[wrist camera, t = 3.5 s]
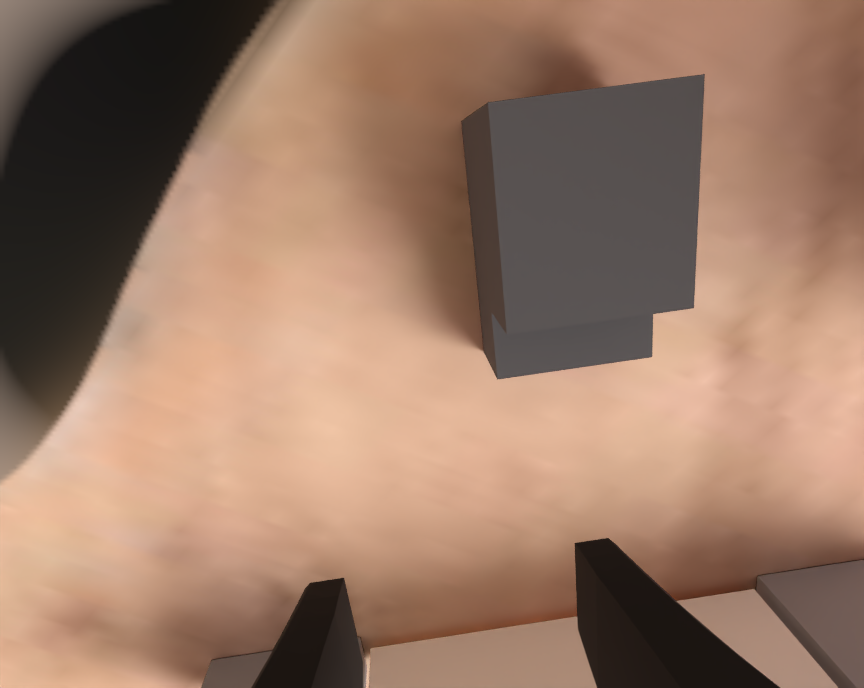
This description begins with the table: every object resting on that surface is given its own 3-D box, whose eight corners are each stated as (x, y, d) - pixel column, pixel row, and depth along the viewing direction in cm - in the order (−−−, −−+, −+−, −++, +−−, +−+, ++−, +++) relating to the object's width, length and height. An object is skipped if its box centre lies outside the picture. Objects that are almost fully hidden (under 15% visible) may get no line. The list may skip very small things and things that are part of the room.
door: (754, 588, 20) (851, 702, 16) (751, 611, 21) (845, 728, 16) (370, 648, 20) (364, 781, 16) (375, 670, 20) (370, 806, 16)
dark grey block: (614, 101, 15) (704, 74, 10) (616, 331, 17) (689, 384, 13) (460, 121, 15) (488, 102, 10) (483, 350, 17) (512, 410, 13)
